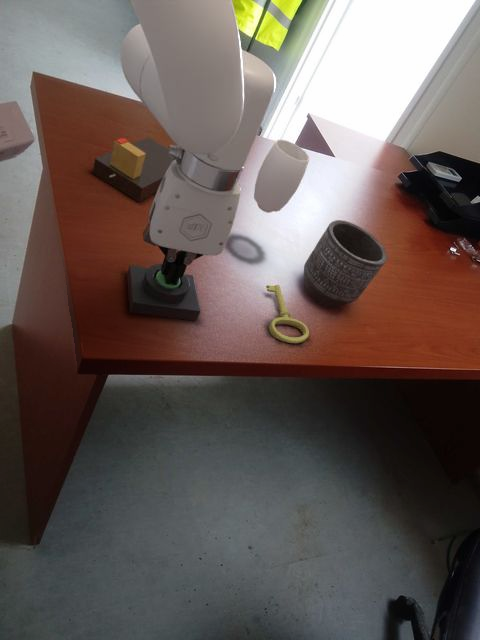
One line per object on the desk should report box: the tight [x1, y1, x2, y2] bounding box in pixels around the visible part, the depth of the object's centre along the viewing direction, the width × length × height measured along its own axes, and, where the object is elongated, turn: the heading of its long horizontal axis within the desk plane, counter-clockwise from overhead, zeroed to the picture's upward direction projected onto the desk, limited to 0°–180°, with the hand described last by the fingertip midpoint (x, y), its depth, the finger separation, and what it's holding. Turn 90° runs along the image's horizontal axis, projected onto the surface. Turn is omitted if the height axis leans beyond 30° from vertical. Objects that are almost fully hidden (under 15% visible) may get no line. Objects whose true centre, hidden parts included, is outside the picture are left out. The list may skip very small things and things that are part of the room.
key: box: [265, 284, 310, 344], centre depth 78 cm, size 7×12×2 cm, turn 36°
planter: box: [303, 219, 388, 309], centre depth 85 cm, size 12×12×13 cm
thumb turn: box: [110, 137, 146, 179], centre depth 81 cm, size 5×2×5 cm, turn 68°
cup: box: [253, 139, 310, 214], centre depth 81 cm, size 7×7×21 cm
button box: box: [126, 263, 201, 322], centre depth 68 cm, size 10×8×4 cm
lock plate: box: [92, 136, 174, 203], centre depth 88 cm, size 21×10×3 cm, turn 160°
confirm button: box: [155, 271, 180, 289], centre depth 68 cm, size 4×4×2 cm
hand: (169, 277), depth 67 cm, fingers closed
